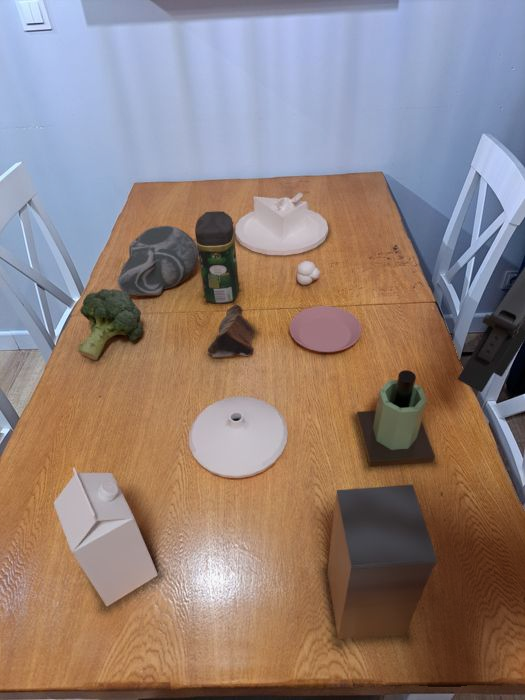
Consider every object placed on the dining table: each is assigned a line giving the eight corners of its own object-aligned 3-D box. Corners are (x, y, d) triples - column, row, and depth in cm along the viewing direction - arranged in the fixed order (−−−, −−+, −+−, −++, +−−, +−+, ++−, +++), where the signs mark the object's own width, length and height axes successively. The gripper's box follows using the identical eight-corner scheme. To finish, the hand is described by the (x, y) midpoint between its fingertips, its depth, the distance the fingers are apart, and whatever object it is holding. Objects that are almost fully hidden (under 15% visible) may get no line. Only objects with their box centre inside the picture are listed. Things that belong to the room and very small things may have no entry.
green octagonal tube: (420, 448, 76) (431, 409, 70) (379, 450, 76) (386, 413, 70) (408, 416, 81) (418, 378, 75) (370, 419, 81) (376, 381, 75)
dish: (345, 225, 133) (348, 184, 126) (291, 265, 119) (291, 223, 111) (273, 202, 145) (272, 164, 137) (216, 237, 131) (212, 197, 123)
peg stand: (433, 462, 76) (454, 399, 66) (369, 467, 76) (380, 404, 66) (414, 413, 83) (431, 350, 73) (356, 417, 83) (365, 354, 73)
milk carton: (107, 608, 62) (59, 534, 49) (88, 561, 66) (41, 483, 54) (158, 576, 64) (126, 498, 52) (137, 533, 69) (103, 452, 56)
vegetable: (54, 340, 98) (95, 279, 102) (109, 373, 103) (147, 314, 107) (60, 338, 87) (106, 270, 91) (122, 375, 92) (163, 309, 96)
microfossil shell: (295, 277, 115) (295, 257, 111) (318, 276, 115) (319, 256, 111) (297, 288, 112) (297, 268, 108) (320, 287, 112) (321, 266, 108)
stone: (200, 345, 92) (217, 298, 103) (210, 367, 96) (225, 319, 107) (245, 341, 90) (258, 293, 101) (253, 363, 94) (264, 314, 104)
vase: (296, 416, 84) (296, 388, 79) (275, 496, 72) (274, 468, 68) (209, 401, 87) (204, 373, 82) (176, 476, 76) (168, 448, 71)
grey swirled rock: (114, 305, 111) (152, 258, 125) (179, 311, 107) (210, 262, 121) (98, 262, 103) (140, 217, 118) (167, 267, 99) (202, 220, 113)
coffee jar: (206, 281, 115) (196, 208, 103) (240, 280, 115) (233, 206, 103) (202, 306, 108) (191, 230, 96) (238, 305, 108) (231, 229, 95)
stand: (404, 634, 58) (437, 559, 45) (337, 639, 58) (351, 566, 45) (387, 567, 64) (412, 484, 51) (327, 572, 64) (336, 489, 51)
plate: (275, 336, 99) (274, 329, 98) (319, 305, 107) (319, 297, 105) (330, 369, 92) (331, 361, 90) (374, 332, 99) (375, 325, 98)
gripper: (557, 210, 63) (473, 353, 70) (539, 164, 42) (423, 373, 49) (620, 232, 60) (525, 380, 67) (634, 194, 39) (494, 414, 46)
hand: (481, 377), depth 58 cm, fingers open, 13 cm apart
